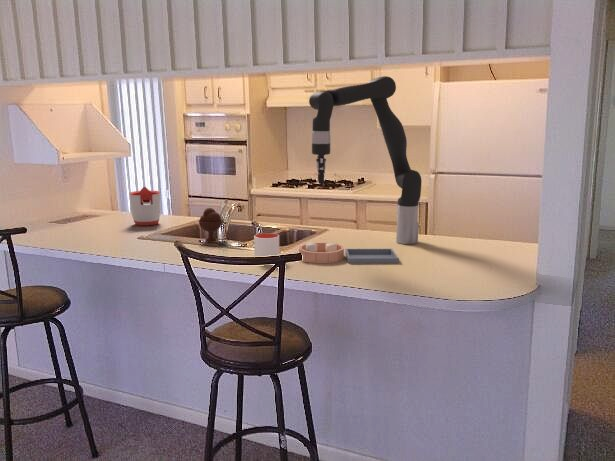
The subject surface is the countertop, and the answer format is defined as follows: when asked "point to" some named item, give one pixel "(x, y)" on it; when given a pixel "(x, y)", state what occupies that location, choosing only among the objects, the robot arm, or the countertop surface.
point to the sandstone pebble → (331, 247)
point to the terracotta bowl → (322, 254)
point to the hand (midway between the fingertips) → (320, 182)
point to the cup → (266, 244)
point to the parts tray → (371, 256)
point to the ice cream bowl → (210, 223)
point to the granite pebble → (311, 247)
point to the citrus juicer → (145, 207)
